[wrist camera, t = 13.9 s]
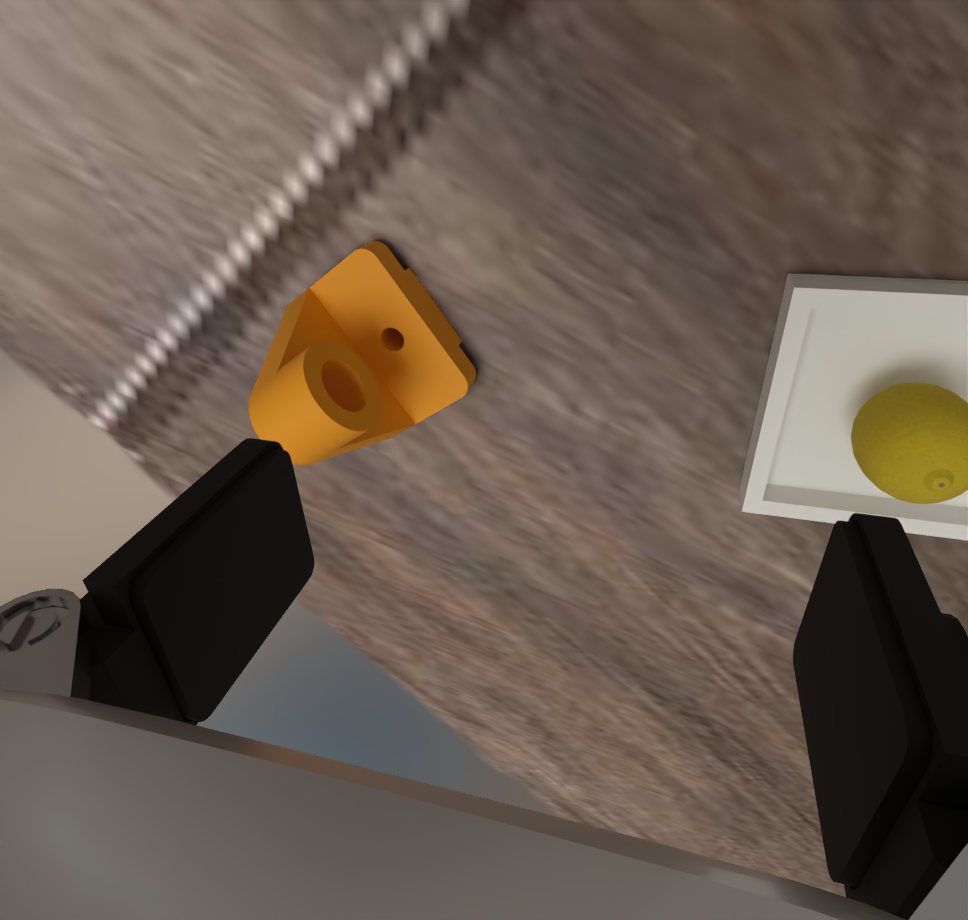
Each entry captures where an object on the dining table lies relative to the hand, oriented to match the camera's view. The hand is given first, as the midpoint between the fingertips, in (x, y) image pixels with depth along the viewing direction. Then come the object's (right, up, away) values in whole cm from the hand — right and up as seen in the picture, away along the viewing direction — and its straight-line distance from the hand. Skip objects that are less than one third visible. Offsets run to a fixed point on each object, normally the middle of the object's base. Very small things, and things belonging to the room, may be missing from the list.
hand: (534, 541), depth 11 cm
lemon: (+22, +5, +24) cm, 33 cm away
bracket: (-7, +10, +31) cm, 33 cm away
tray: (+22, +5, +25) cm, 34 cm away
